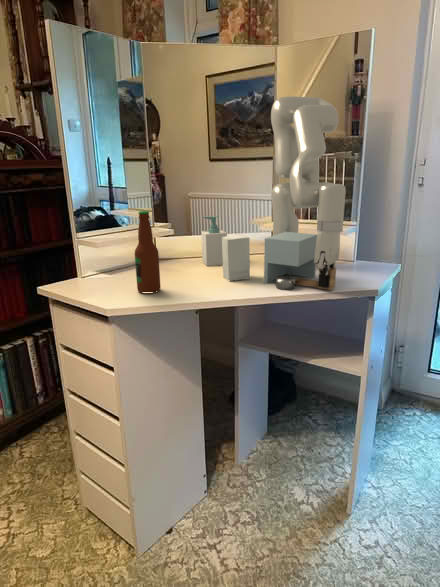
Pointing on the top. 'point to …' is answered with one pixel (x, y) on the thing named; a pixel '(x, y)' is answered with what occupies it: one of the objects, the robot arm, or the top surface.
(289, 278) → the puck
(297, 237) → the cabinet
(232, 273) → the skincare box
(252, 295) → the top surface
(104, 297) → the top surface
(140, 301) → the top surface
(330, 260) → the robot arm
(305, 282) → the brown piece
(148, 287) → the bottle
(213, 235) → the soap bottle
